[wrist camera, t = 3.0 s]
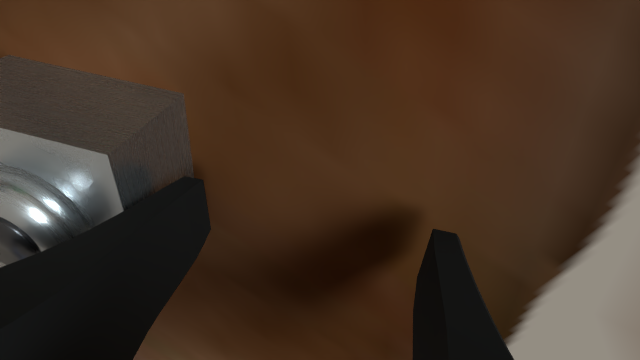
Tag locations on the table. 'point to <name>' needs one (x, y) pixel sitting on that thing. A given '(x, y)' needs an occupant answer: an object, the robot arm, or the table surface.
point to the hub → (80, 151)
